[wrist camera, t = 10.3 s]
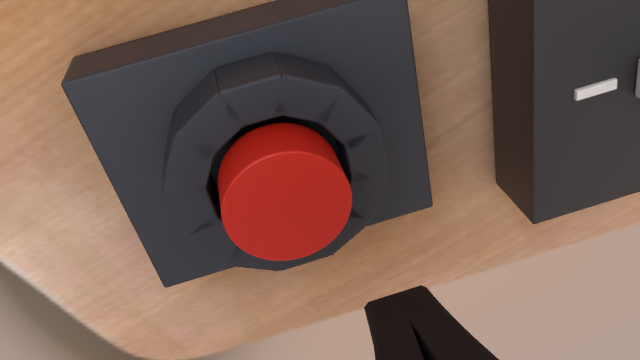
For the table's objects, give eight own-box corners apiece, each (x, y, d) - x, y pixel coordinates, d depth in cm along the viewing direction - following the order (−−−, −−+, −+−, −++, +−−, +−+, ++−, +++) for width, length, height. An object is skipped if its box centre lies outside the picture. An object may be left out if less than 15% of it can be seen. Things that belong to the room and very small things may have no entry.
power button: (237, 240, 18) (243, 277, 16) (200, 142, 16) (202, 174, 14) (348, 206, 18) (362, 240, 16) (324, 106, 16) (339, 134, 14)
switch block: (165, 250, 22) (163, 326, 18) (72, 56, 17) (46, 111, 14) (412, 175, 22) (453, 236, 19) (383, -30, 18) (429, 2, 15)
